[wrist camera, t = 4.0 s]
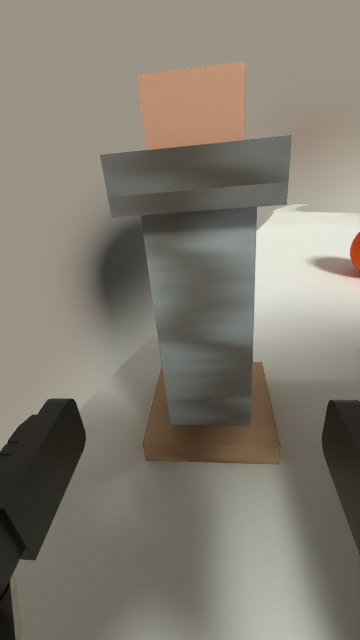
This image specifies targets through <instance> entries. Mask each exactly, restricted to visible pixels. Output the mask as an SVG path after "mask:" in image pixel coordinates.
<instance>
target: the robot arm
mask: <svg viewBox="0 0 360 640" xmlns="http://www.w3.org/2000/svg"><path fill="white" fill-rule="evenodd" d="M85 440H86V434H85V429H84V426H83V423H82V420H81V417H80V414H79V411H78V408H77V405H76V402H75V400H74V399H49V400H47V401H46V403H45V404H44V405H43V407H42V408H41V410H40V411H39V413H38V414H37V415H32V416H30V417H29V418H28V419H27V420H26V421H25V422H23V423H22V424H21V425H20V426H19V427H18V428H17V429H16V431H15V432H14V433H13V435H12V436H11V437H10V439H9V440H8V443H7V445H5V446H4V447H3V449H2V450H1V451H0V640H22V635H21V626H20V617H19V608H18V599H17V590H16V581H15V576H14V573H13V572H14V570H15V568H16V566H17V564H18V562H19V560H20V559H24V560H36V558H37V555H38V553H39V551H40V548H41V546H42V544H43V541H44V539H45V537H46V535H47V532H48V530H49V528H50V525H51V523H52V521H53V519H54V516H55V514H56V512H57V509H58V507H59V505H60V503H61V500H62V498H63V496H64V493H65V491H66V489H67V486H68V484H69V482H70V480H71V477H72V475H73V473H74V470H75V468H76V466H77V464H78V461H79V459H80V457H81V454H82V452H83V450H84V446H85ZM322 447H323V453H324V456H325V459H326V462H327V465H328V468H329V471H330V473H331V476H332V479H333V482H334V484H335V487H336V490H337V493H338V496H339V498H340V501H341V504H342V507H343V509H344V512H345V515H346V518H347V520H348V523H349V526H350V529H351V532H352V534H353V537H354V540H355V543H356V545H357V548H358V551H359V554H360V401H358V400H330V401H329V403H328V406H327V412H326V417H325V422H324V428H323V433H322Z"/></svg>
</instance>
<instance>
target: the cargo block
mask: <svg viewBox="0 0 360 640" xmlns="http://www.w3.org/2000/svg"><path fill="white" fill-rule="evenodd" d="M137 80H138V87H139V96H140V104H141V113H142V121H143V128H144V137H145V145H146V150H153V149H162V148H172V147H182V146H192V145H201V144H211V143H221V142H231V141H240V140H244V124H245V123H244V122H245V61H241V62H235V63H226V64H219V65H212V66H204V67H197V68H190V69H182V70H175V71H167V72H160V73H153V74H146V75H138V76H137Z"/></svg>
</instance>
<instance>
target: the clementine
mask: <svg viewBox="0 0 360 640" xmlns="http://www.w3.org/2000/svg"><path fill="white" fill-rule="evenodd" d="M350 256H351V260H352V262H353V264H354V265H355V267H356V268H357V269H358V270H360V232H359V233H358V234H357V236H356V237H355V239H354V240H353V242H352V245H351V248H350Z"/></svg>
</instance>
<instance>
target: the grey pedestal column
mask: <svg viewBox="0 0 360 640" xmlns="http://www.w3.org/2000/svg"><path fill="white" fill-rule="evenodd" d="M291 137H292V136H291V135H289V136H279V137H270V138H260V139H250V140H240V141H231V142H221V143H211V144H201V145H192V146H182V147H172V148H162V149H153V150H143V151H133V152H123V153H114V154H104V155H100V158H101V163H102V168H103V173H104V179H105V185H106V190H107V195H108V201H109V206H110V211H111V217H112V218H113V217H126V216H140V215H141V220H142V227H143V234H144V241H145V248H146V256H147V263H148V270H149V277H150V284H151V290H152V298H153V304H154V312H155V319H156V326H157V333H158V340H159V347H160V354H161V361H162V368H161V372H160V376H159V380H158V384H157V388H156V392H155V396H154V400H153V404H152V408H151V412H150V416H149V420H148V424H147V428H146V432H145V436H144V440H143V448H144V452H145V457H146V460H156V461H189V462H223V463H256V464H279V455H280V443H279V439H278V434H277V429H276V425H275V420H274V416H273V411H272V407H271V402H270V398H269V393H268V388H267V384H266V379H265V375H264V370H263V366H262V362H254V363H252V361H253V326H254V291H255V256H256V220H257V207H259V206H273V205H286V204H287V193H288V179H289V164H290V150H291Z"/></svg>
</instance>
